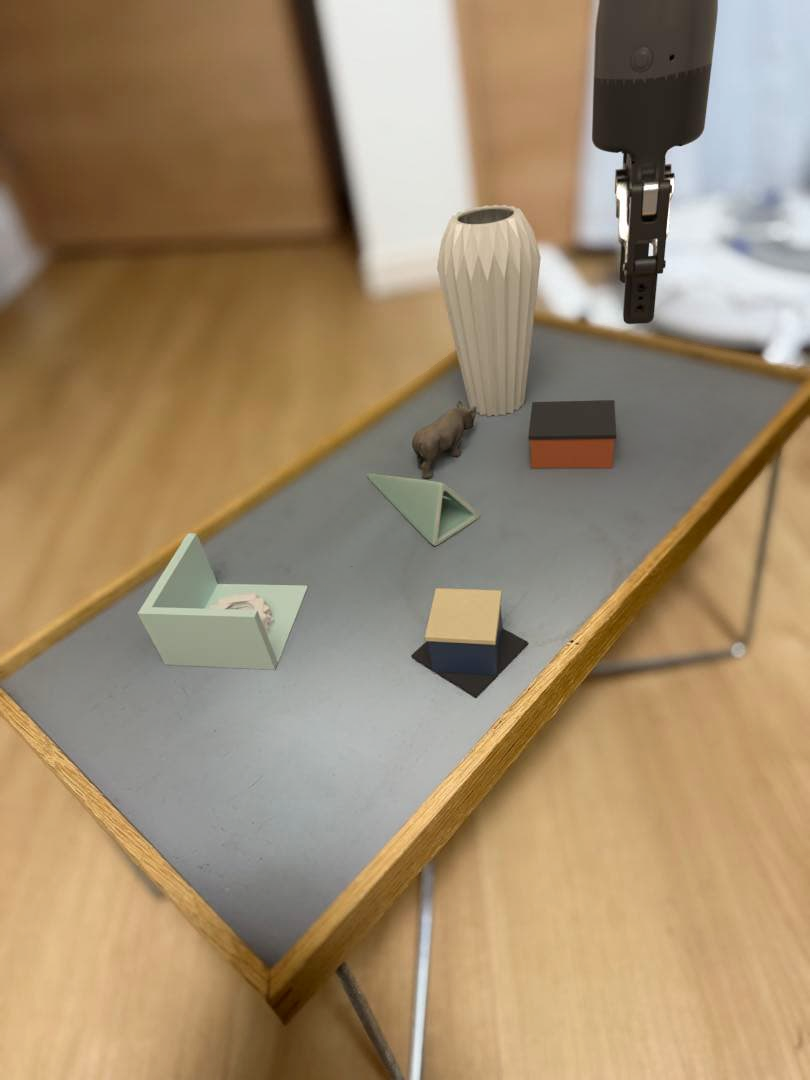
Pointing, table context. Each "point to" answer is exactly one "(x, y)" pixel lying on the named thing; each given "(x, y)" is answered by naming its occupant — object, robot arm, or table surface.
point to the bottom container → (572, 434)
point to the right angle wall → (217, 615)
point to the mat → (477, 682)
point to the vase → (491, 302)
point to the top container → (465, 631)
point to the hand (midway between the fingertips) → (635, 300)
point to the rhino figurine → (442, 436)
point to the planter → (427, 505)
